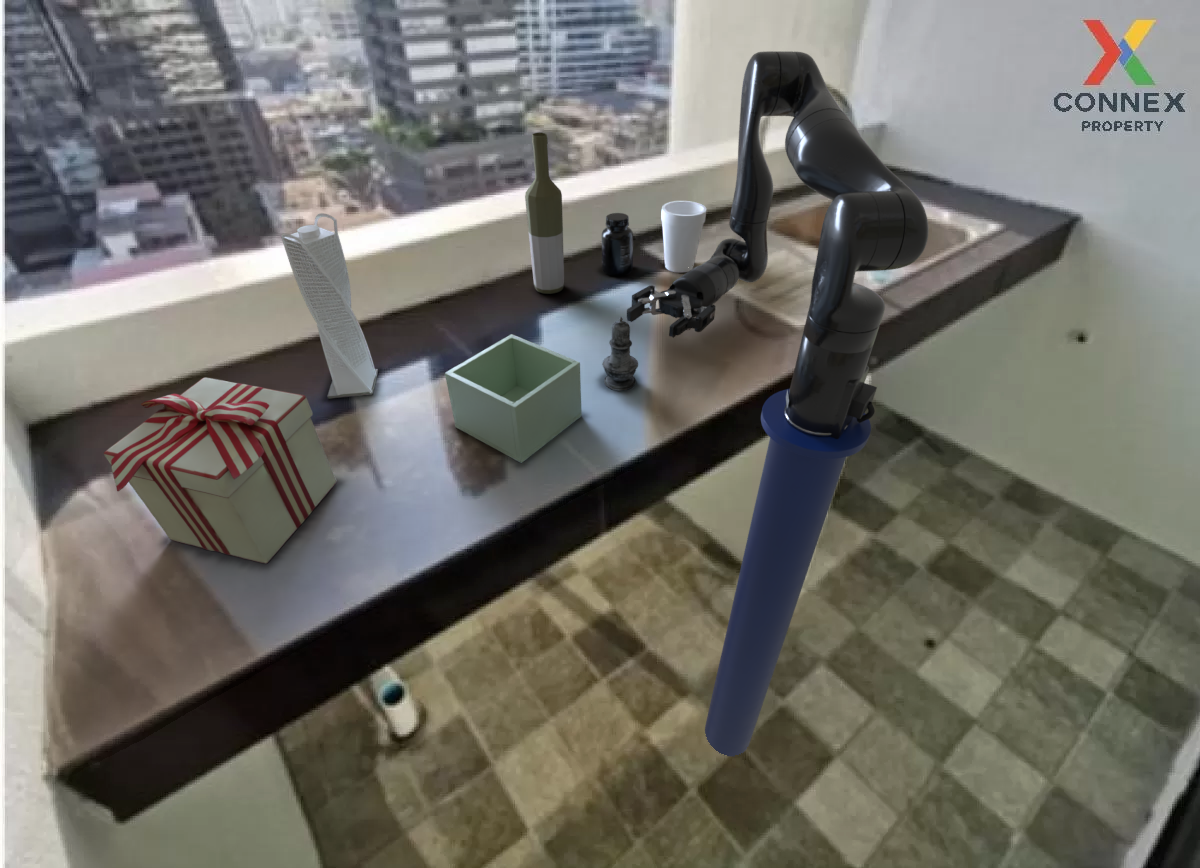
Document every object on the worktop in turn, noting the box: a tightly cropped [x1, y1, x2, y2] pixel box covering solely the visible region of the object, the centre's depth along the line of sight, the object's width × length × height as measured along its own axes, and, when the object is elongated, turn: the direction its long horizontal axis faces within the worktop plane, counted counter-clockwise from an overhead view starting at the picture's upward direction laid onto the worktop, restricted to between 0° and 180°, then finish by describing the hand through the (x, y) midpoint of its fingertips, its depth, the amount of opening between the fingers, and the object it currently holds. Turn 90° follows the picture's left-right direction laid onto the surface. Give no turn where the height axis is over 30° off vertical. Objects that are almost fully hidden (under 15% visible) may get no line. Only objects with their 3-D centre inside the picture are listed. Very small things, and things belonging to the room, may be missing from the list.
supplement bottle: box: [601, 212, 634, 277], centre depth 130 cm, size 7×7×12 cm
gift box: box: [103, 377, 337, 564], centre depth 71 cm, size 17×18×17 cm
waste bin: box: [444, 333, 583, 464], centre depth 89 cm, size 14×14×10 cm
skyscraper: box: [281, 212, 379, 399], centre depth 91 cm, size 8×8×28 cm
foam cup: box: [660, 200, 707, 273], centre depth 131 cm, size 10×9×13 cm
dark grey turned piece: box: [601, 316, 639, 392], centre depth 97 cm, size 6×6×12 cm
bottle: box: [524, 132, 565, 295], centre depth 118 cm, size 7×7×30 cm
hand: (649, 324), depth 101 cm, fingers open, 8 cm apart
